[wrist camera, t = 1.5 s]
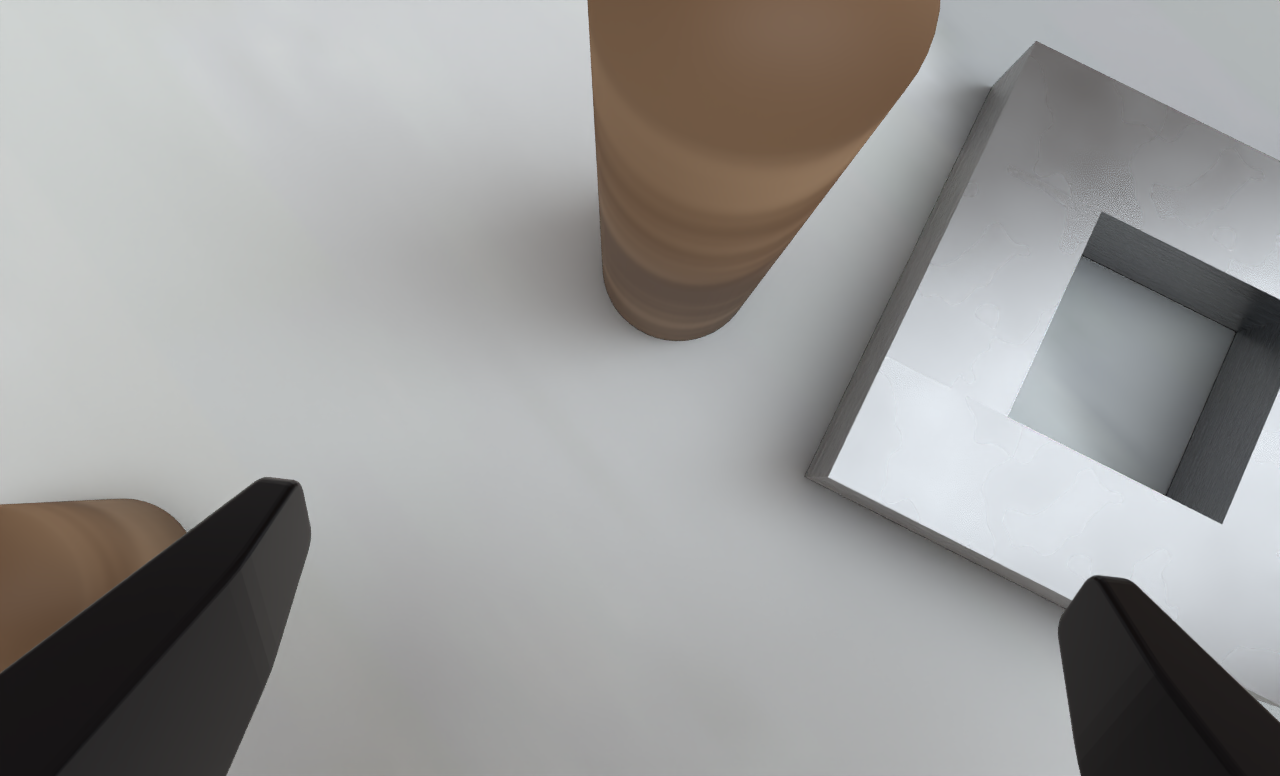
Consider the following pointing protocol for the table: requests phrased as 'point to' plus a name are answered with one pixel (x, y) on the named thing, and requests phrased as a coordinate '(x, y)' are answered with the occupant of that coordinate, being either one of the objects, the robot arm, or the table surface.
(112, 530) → the stub pin
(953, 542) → the hole collar
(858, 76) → the tall pin
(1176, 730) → the robot arm
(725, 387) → the table surface
